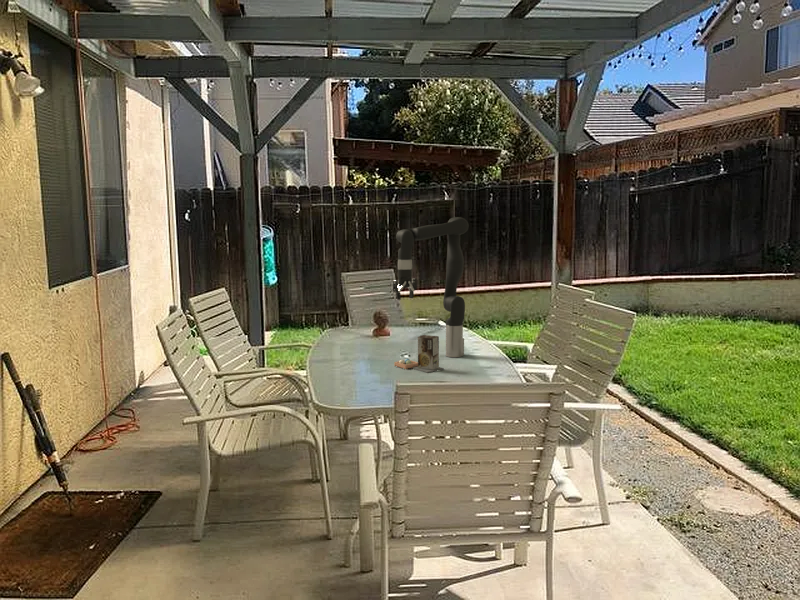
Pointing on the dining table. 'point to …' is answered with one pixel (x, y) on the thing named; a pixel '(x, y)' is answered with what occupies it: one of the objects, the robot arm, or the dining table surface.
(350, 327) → the dining table surface
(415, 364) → the marble dish
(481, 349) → the dining table surface
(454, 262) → the robot arm
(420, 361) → the coffee box
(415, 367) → the rubber mat
